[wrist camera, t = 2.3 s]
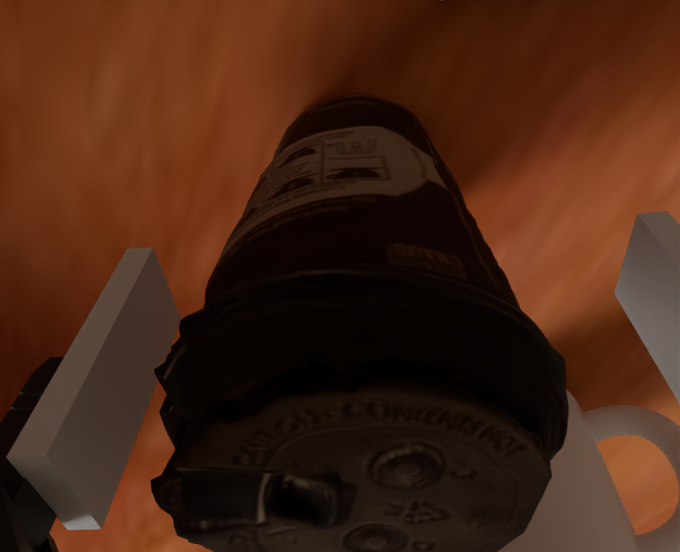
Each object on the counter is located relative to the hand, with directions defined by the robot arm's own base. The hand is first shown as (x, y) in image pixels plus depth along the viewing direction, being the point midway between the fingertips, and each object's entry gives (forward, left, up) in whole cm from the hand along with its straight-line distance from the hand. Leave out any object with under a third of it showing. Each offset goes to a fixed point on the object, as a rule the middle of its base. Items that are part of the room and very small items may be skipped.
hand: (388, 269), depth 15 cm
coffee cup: (-1, 0, -6) cm, 6 cm away
